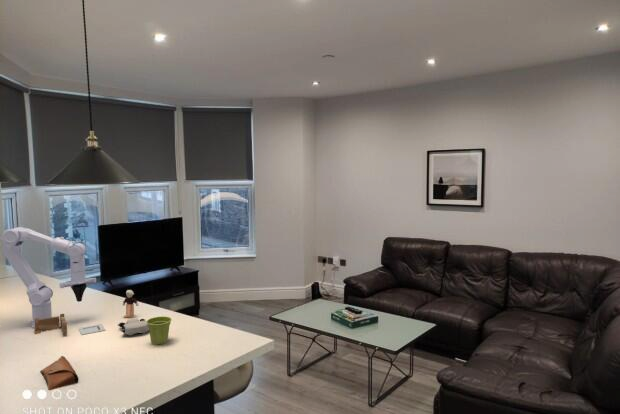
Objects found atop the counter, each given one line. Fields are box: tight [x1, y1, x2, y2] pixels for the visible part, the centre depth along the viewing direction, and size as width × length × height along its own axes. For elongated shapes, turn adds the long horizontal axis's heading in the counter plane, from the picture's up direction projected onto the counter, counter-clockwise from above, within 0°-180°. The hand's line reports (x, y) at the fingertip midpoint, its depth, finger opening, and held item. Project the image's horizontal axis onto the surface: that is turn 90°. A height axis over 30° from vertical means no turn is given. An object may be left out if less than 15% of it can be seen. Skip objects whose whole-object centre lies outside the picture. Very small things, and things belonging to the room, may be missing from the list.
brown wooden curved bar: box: [59, 313, 68, 336], centre depth 179 cm, size 14×2×5 cm, turn 34°
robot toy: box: [117, 318, 149, 336], centre depth 180 cm, size 12×4×15 cm
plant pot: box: [145, 315, 172, 345], centre depth 168 cm, size 9×9×9 cm
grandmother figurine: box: [122, 289, 139, 319], centre depth 197 cm, size 8×4×13 cm, turn 92°
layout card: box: [78, 323, 106, 336], centre depth 182 cm, size 9×9×1 cm
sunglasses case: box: [39, 355, 80, 391], centre depth 139 cm, size 18×7×7 cm
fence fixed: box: [33, 315, 62, 335], centre depth 182 cm, size 5×12×6 cm, turn 124°
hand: (79, 301), depth 191 cm, fingers closed
